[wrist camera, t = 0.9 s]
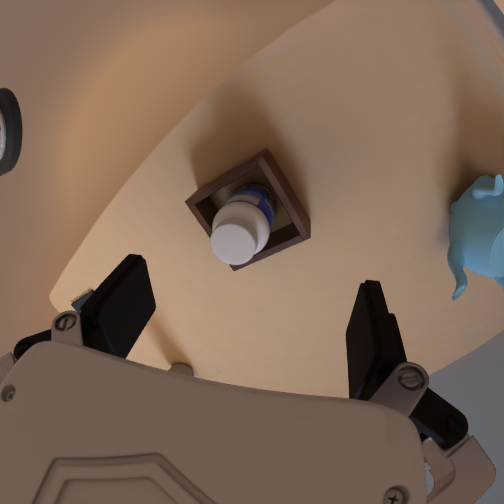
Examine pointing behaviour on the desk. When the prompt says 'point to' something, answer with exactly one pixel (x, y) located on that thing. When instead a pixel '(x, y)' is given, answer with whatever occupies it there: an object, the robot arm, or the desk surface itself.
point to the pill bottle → (243, 224)
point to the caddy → (301, 223)
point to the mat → (81, 302)
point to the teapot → (478, 232)
